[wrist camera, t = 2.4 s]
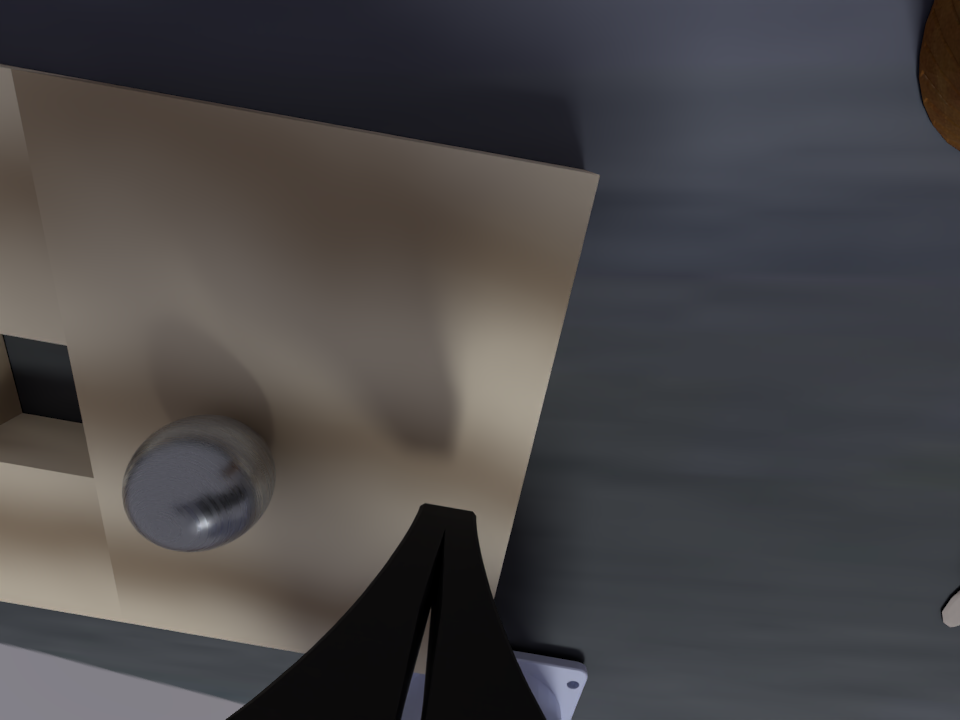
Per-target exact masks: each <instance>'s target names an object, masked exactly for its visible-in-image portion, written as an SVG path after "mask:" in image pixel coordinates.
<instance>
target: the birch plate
mask: <svg viewBox="0 0 960 720" xmlns="http://www.w3.org/2000/svg"><path fill="white" fill-rule="evenodd" d="M599 177H600V175H598V174H595V173H592V172H590V171H587V170H583V169H578V168H572V167H567V166H561V165H556V164H550V163H544V162H539V161H533V160H528V159H522V158H517V157H511V156H506V155H500V154H495V153H489V152H484V151H478V150H473V149H467V148H462V147H456V146H451V145H445V144H439V143H434V142H428V141H423V140H417V139H412V138H406V137H401V136H395V135H390V134H384V133H379V132H373V131H368V130H362V129H357V128H351V127H346V126H340V125H334V124H329V123H323V122H318V121H312V120H307V119H301V118H296V117H290V116H285V115H279V114H274V113H268V112H263V111H257V110H252V109H246V108H241V107H235V106H229V105H224V104H218V103H213V102H207V101H202V100H196V99H191V98H185V97H180V96H174V95H169V94H163V93H158V92H152V91H147V90H141V89H136V88H130V87H124V86H119V85H113V84H108V83H102V82H97V81H91V80H86V79H80V78H75V77H69V76H64V75H58V74H53V73H47V72H42V71H36V70H30V69H25V68H19V67H14V66H8V65H3V64H0V601H3V602H9V603H15V604H21V605H27V606H32V607H38V608H44V609H50V610H55V611H61V612H67V613H73V614H79V615H84V616H90V617H96V618H102V619H108V620H113V621H119V622H125V623H131V624H137V625H142V626H148V627H154V628H160V629H165V630H171V631H177V632H183V633H189V634H194V635H200V636H206V637H212V638H218V639H223V640H229V641H235V642H241V643H246V644H252V645H258V646H264V647H270V648H275V649H281V650H287V651H293V652H299V653H304V654H305V653H306V652H307V651H308V650H310V649H311V648H312V647H313V646H314V645H315V644H316V643H317V642H318V641H319V640H320V639H321V638H322V637H323V636H324V635H325V634H326V633H327V632H328V631H329V630H330V629H331V628H332V627H333V626H334V625H335V624H336V623H337V621H338V620H339V619H340V618H341V617H342V616H343V615H344V614H345V613H346V612H347V611H348V610H349V608H350V607H351V606H352V605H353V604H354V603H355V602H356V600H357V599H358V598H359V597H360V596H361V595H362V593H363V592H364V591H365V590H366V588H367V587H368V586H369V585H370V583H371V582H372V581H373V580H374V578H375V577H376V576H377V575H378V573H379V572H380V571H381V569H382V568H383V567H384V565H385V564H386V563H387V561H388V560H389V558H390V557H391V555H392V554H393V553H394V551H395V550H396V548H397V547H398V545H399V544H400V542H401V541H402V539H403V538H404V536H405V534H406V533H407V531H408V529H409V528H410V526H411V524H412V522H413V520H414V518H415V516H416V515H417V512H418V510H419V507H420V506H421V505H423V504H424V503H428V504H434V505H439V506H445V507H451V508H457V509H462V510H468V511H473V512H474V513H475V515H476V523H477V532H478V539H479V545H480V550H481V555H482V559H483V563H484V567H485V571H486V575H487V578H488V582H489V586H490V589H491V592H492V596H493V599H494V597H495V593H496V589H497V585H498V581H499V577H500V573H501V569H502V565H503V561H504V557H505V553H506V549H507V545H508V541H509V537H510V533H511V529H512V525H513V521H514V517H515V513H516V509H517V505H518V501H519V497H520V493H521V489H522V485H523V481H524V477H525V473H526V469H527V465H528V461H529V457H530V453H531V449H532V445H533V441H534V437H535V433H536V429H537V425H538V421H539V417H540V413H541V409H542V405H543V401H544V397H545V393H546V389H547V385H548V381H549V377H550V373H551V369H552V365H553V361H554V357H555V353H556V349H557V345H558V341H559V337H560V333H561V329H562V325H563V321H564V317H565V313H566V309H567V305H568V301H569V297H570V293H571V289H572V285H573V281H574V277H575V273H576V269H577V265H578V261H579V257H580V253H581V249H582V245H583V241H584V237H585V233H586V229H587V225H588V221H589V217H590V213H591V209H592V205H593V201H594V197H595V193H596V189H597V185H598V181H599ZM2 334H4V335H10V336H16V337H21V338H27V339H33V340H38V341H44V342H50V343H55V344H61V345H67V348H68V353H69V358H70V363H71V368H72V372H73V377H74V382H75V387H76V392H77V397H78V402H79V407H80V412H81V417H82V422H83V424H82V423H77V422H71V421H65V420H60V419H54V418H48V417H43V416H37V415H31V414H26V413H22V409H21V405H20V401H19V398H18V394H17V390H16V386H15V382H14V378H13V375H12V371H11V367H10V363H9V359H8V355H7V352H6V348H5V344H4V340H3V336H2ZM205 414H209V415H221V416H226V417H230V418H233V419H236V420H238V421H241V422H243V423H245V424H246V425H248V426H250V427H251V428H252V429H254V430H255V431H256V432H257V433H258V434H259V435H260V436H261V437H262V438H263V439H264V441H265V442H266V443H267V445H268V447H269V448H270V450H271V453H272V455H273V459H274V462H275V469H276V482H275V488H274V492H273V495H272V498H271V501H270V503H269V505H268V507H267V509H266V511H265V512H264V514H263V515H262V516H261V518H260V519H259V520H258V521H257V523H256V524H255V525H254V526H253V527H252V528H251V529H249V530H248V531H247V532H246V533H245V534H243V535H242V536H240V537H239V538H237V539H236V540H234V541H232V542H230V543H228V544H226V545H224V546H221V547H218V548H215V549H212V550H208V551H201V552H178V551H172V550H168V549H165V548H162V547H159V546H157V545H155V544H153V543H151V542H150V541H148V540H147V539H145V538H144V537H143V536H142V535H141V534H139V533H138V532H137V530H136V529H135V528H134V527H133V526H132V524H131V522H130V521H129V519H128V517H127V515H126V512H125V510H124V506H123V500H122V483H123V478H124V474H125V471H126V468H127V465H128V463H129V461H130V460H131V458H132V456H133V454H134V453H135V452H136V450H137V449H138V448H139V446H140V445H141V444H142V443H143V442H144V441H145V440H146V439H147V438H148V437H149V436H150V435H152V434H153V433H154V432H156V431H157V430H159V429H160V428H162V427H163V426H165V425H167V424H169V423H171V422H174V421H176V420H179V419H182V418H186V417H190V416H196V415H205ZM430 615H431V609H430V613H429V617H428V621H427V624H426V628H425V632H424V635H423V639H422V643H421V646H420V650H419V654H418V657H417V661H416V665H415V668H414V673H420V674H425V672H426V661H427V649H428V638H429V627H430Z"/></svg>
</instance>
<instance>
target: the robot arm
mask: <svg viewBox="0 0 960 720" xmlns="http://www.w3.org/2000/svg"><path fill="white" fill-rule="evenodd" d="M430 609H431V615H430V627H429V638H428V649H427V661H426V672H425V674H420V673H414V668H415V665H416V661H417V657H418V654H419V650H420V646H421V643H422V639H423V635H424V632H425V628H426V624H427V621H428V617H429V613H430ZM587 676H588V675H587V668H586V666H585V665H584V664H582V663H580V662H577V661H571V660H565V659H560V658H554V657H548V656H542V655H537V654H531V653H525V652H519V651H514V650H512V648H511V645H510V643H509V640H508V638H507V635H506V633H505V630H504V628H503V625H502V622H501V620H500V617H499V614H498V611H497V608H496V605H495V602H494V599H493V596H492V592H491V589H490V586H489V582H488V578H487V575H486V571H485V567H484V563H483V559H482V555H481V550H480V545H479V539H478V532H477V523H476V515H475V513H474V512H473V511H468V510H462V509H457V508H451V507H445V506H439V505H434V504H428V503H424V504H423V505H421V506H420V507H419V510H418V512H417V515H416V516H415V518H414V520H413V522H412V524H411V526H410V528H409V529H408V531H407V533H406V534H405V536H404V538H403V539H402V541H401V542H400V544H399V545H398V547H397V548H396V550H395V551H394V553H393V554H392V555H391V557H390V558H389V560H388V561H387V563H386V564H385V565H384V567H383V568H382V569H381V571H380V572H379V573H378V575H377V576H376V577H375V578H374V580H373V581H372V582H371V583H370V585H369V586H368V587H367V588H366V590H365V591H364V592H363V593H362V595H361V596H360V597H359V598H358V599H357V600H356V602H355V603H354V604H353V605H352V606H351V607H350V608H349V610H348V611H347V612H346V613H345V614H344V615H343V616H342V617H341V618H340V619H339V620H338V621H337V623H336V624H335V625H334V626H333V627H332V628H331V629H330V630H329V631H328V632H327V633H326V634H325V635H324V636H323V637H322V638H321V639H320V640H319V641H318V642H317V643H316V644H315V645H314V646H313V647H312V648H311V649H310V650H308V651H307V652H306V653H305V654H304V655H303V656H302V657H301V658H300V659H299V660H298V661H297V662H296V663H294V664H293V665H292V666H291V667H290V668H289V669H287V670H286V671H285V672H284V673H283V674H282V675H280V676H279V677H278V678H277V679H276V680H275V681H273V682H272V683H271V684H270V685H269V686H268V687H266V688H265V689H264V690H263V691H262V692H261V693H259V694H258V695H257V696H256V697H254V698H253V699H252V700H251V701H249V702H248V703H247V704H246V705H244V706H243V707H242V708H240V709H239V710H238V711H236V712H235V713H234V714H232V715H231V716H230V717H228V718H227V719H226V720H571V718H572V715H573V713H574V710H575V708H576V705H577V703H578V700H579V698H580V695H581V693H582V690H583V688H584V685H585V683H586V680H587Z"/></svg>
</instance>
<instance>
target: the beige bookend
mask: <svg viewBox="0 0 960 720" xmlns="http://www.w3.org/2000/svg"><path fill="white" fill-rule="evenodd" d="M942 615H943V622H944V623H945V624H946V625H948V626H949V627H954V626H959V625H960V591H959V592H958V593H957V594H956V595H954V596H953V597H952V598H951V599H950V601H949V602H948V604H947V605H946V607H945V608H944V610H943V611H942Z"/></svg>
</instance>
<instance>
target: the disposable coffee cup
mask: <svg viewBox="0 0 960 720" xmlns="http://www.w3.org/2000/svg"><path fill="white" fill-rule="evenodd" d="M919 81H920V87H921V93H922V98H923V104H924V106H925V108H926V111H927V113H928V115H929V117H930V120H931V122H932V124H933V126H934V127H935V128H936V130H937V131H938V132H939V133H940V134H941V136H942V137H943V138H944V139H945V140H946V142H947V143H949V144H950V145H952V146H953V147H955V148H956V149H957V150H959V151H960V0H934V3H933V6H932V9H931V11H930V14H929V17H928V19H927V22H926V25H925V30H924V36H923V41H922V46H921V51H920V63H919Z"/></svg>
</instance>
